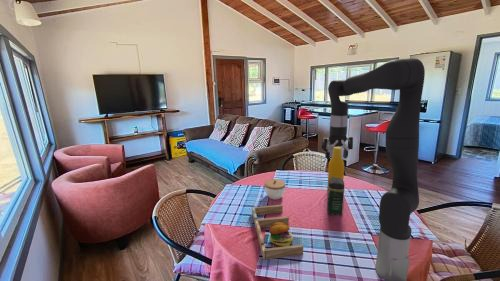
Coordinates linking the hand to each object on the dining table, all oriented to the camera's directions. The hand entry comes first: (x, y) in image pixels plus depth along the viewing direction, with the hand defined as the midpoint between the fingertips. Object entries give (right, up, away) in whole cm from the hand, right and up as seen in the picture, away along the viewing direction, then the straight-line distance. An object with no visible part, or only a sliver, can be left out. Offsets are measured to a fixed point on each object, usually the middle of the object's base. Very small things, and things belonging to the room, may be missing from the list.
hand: (336, 158), depth 112 cm
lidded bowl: (-25, -26, +34) cm, 50 cm away
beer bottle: (+13, -24, +39) cm, 48 cm away
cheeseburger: (-27, -37, -7) cm, 47 cm away
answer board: (-29, -35, 0) cm, 46 cm away
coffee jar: (+5, -30, +16) cm, 35 cm away
